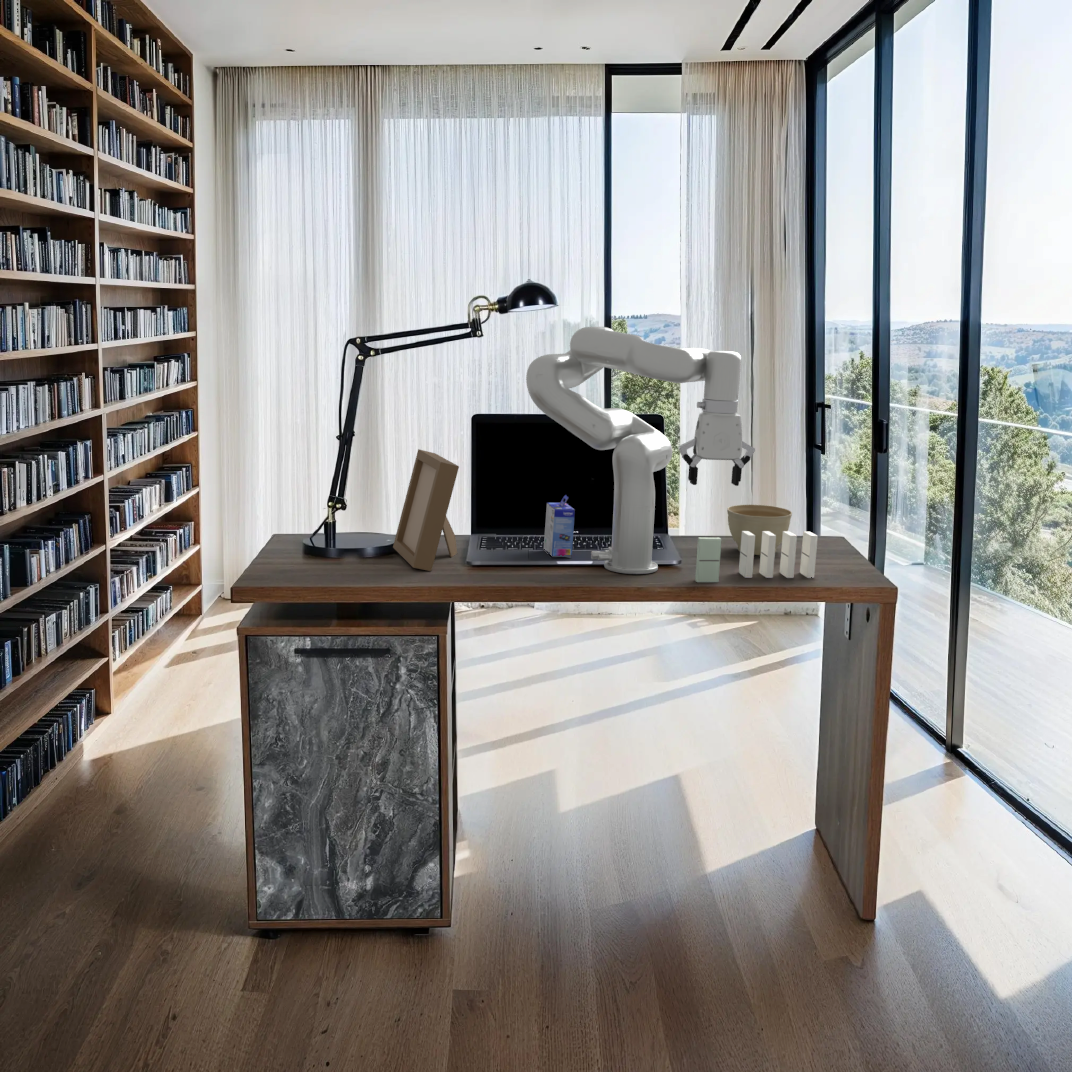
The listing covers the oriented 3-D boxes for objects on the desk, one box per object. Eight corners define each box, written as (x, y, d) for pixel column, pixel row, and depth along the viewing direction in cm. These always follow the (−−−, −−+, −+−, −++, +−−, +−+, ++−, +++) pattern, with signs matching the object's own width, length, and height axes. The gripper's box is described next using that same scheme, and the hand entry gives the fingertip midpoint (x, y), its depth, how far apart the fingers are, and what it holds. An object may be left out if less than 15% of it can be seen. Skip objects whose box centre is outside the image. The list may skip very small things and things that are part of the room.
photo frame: (413, 571, 257) (416, 461, 252) (392, 551, 277) (395, 449, 272) (476, 569, 261) (480, 462, 257) (451, 549, 282) (455, 449, 277)
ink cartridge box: (573, 558, 276) (576, 499, 273) (551, 558, 275) (553, 499, 272) (564, 549, 285) (567, 492, 282) (543, 549, 284) (545, 492, 281)
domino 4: (786, 577, 264) (790, 535, 262) (779, 572, 269) (782, 531, 267) (793, 577, 264) (797, 535, 262) (786, 572, 269) (789, 531, 267)
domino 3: (766, 577, 264) (769, 535, 262) (759, 572, 268) (762, 531, 266) (772, 577, 264) (776, 535, 262) (765, 572, 269) (768, 531, 267)
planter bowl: (712, 546, 295) (715, 505, 293) (764, 543, 302) (768, 503, 299) (747, 560, 281) (750, 517, 279) (801, 556, 287) (804, 514, 285)
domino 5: (807, 577, 265) (811, 535, 263) (799, 572, 270) (803, 531, 268) (814, 577, 265) (817, 535, 263) (806, 572, 270) (809, 531, 268)
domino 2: (745, 577, 263) (748, 535, 261) (738, 572, 268) (741, 530, 266) (752, 577, 263) (755, 535, 261) (745, 572, 268) (748, 531, 266)
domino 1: (718, 582, 258) (721, 539, 256) (697, 582, 257) (699, 538, 255) (716, 580, 259) (719, 537, 257) (695, 580, 259) (697, 537, 256)
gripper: (686, 408, 245) (681, 486, 249) (763, 410, 248) (756, 488, 252) (677, 404, 253) (672, 480, 256) (752, 407, 255) (745, 482, 259)
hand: (714, 484), depth 254 cm, fingers open, 9 cm apart
